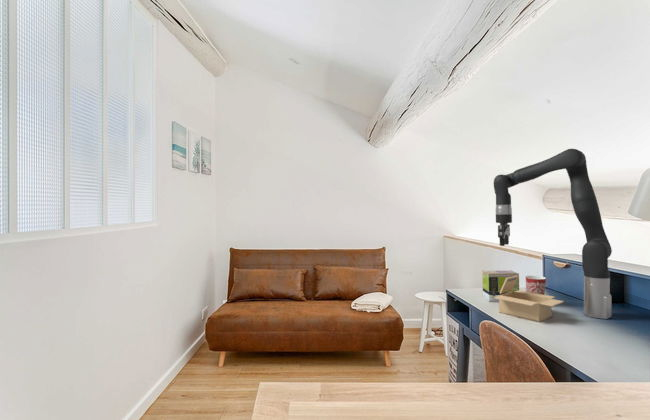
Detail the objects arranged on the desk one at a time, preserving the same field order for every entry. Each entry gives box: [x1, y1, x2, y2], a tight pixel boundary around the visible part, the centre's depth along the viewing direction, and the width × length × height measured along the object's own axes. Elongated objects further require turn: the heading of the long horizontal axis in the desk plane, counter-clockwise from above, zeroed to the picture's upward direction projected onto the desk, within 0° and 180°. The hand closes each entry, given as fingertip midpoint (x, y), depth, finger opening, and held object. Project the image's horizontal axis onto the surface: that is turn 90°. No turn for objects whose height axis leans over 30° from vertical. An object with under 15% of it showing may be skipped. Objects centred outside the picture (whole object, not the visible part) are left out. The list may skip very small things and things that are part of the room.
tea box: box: [482, 269, 520, 303], centre depth 192 cm, size 15×10×15 cm, turn 84°
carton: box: [495, 289, 565, 323], centre depth 164 cm, size 22×22×8 cm
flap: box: [500, 275, 518, 294], centre depth 171 cm, size 1×11×8 cm, turn 128°
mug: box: [525, 274, 547, 295], centre depth 185 cm, size 13×9×14 cm
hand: (504, 245), depth 192 cm, fingers open, 8 cm apart
